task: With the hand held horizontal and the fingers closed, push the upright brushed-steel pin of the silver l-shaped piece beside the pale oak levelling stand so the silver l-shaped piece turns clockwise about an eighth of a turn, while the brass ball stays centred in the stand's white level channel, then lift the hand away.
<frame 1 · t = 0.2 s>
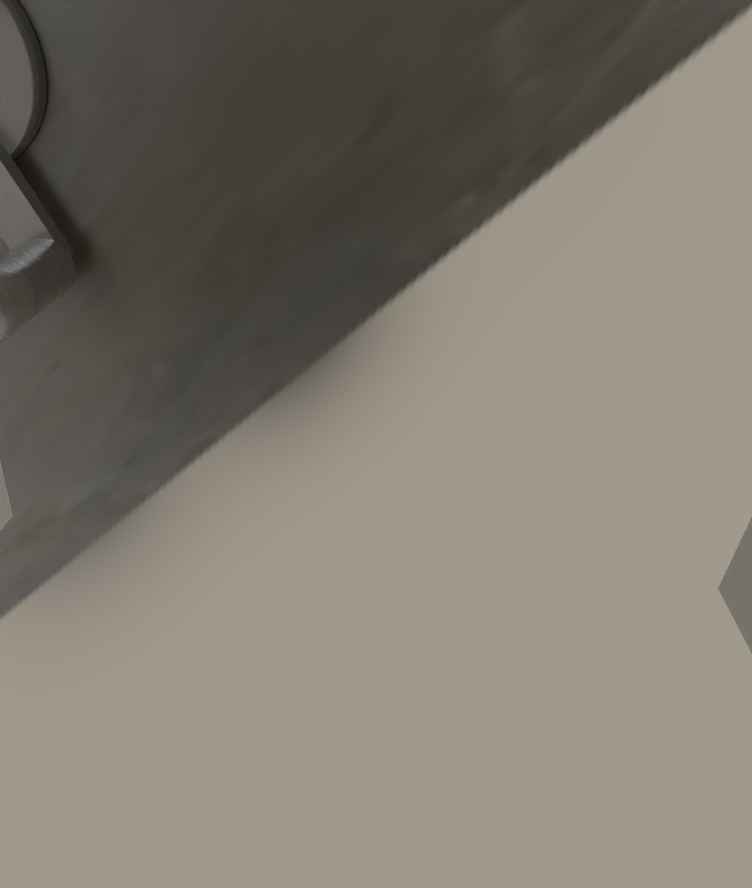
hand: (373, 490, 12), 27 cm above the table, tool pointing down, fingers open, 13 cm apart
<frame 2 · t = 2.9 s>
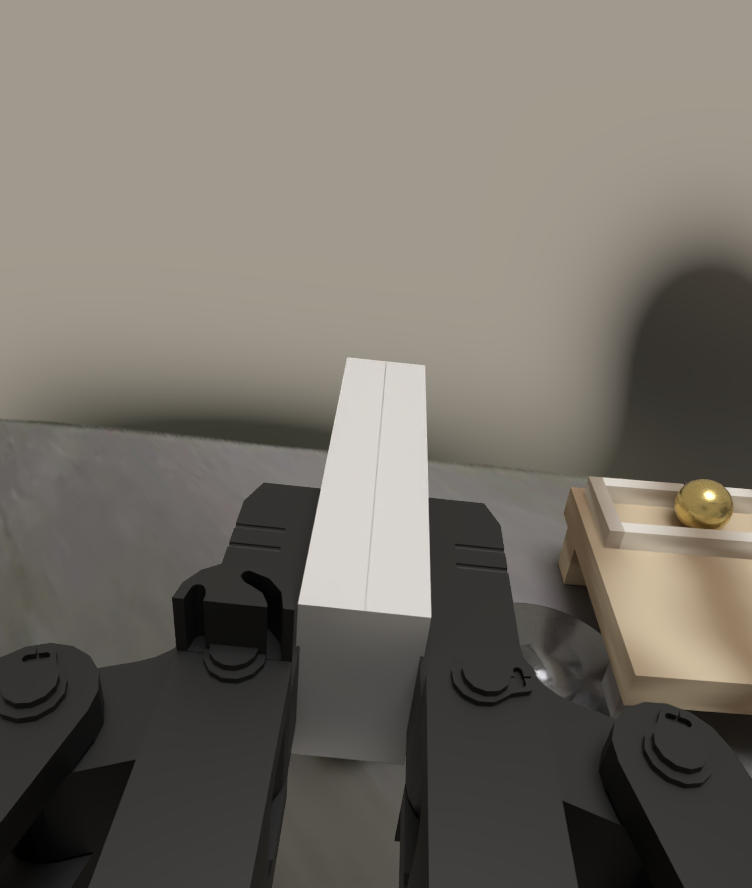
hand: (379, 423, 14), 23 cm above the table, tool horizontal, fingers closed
stand: (686, 654, 40), on the table
ball: (703, 506, 39), point 7 cm above the table, touching stand
silver l-shaped piece: (498, 605, 31), point 8 cm above the table, hinge at 20.0°
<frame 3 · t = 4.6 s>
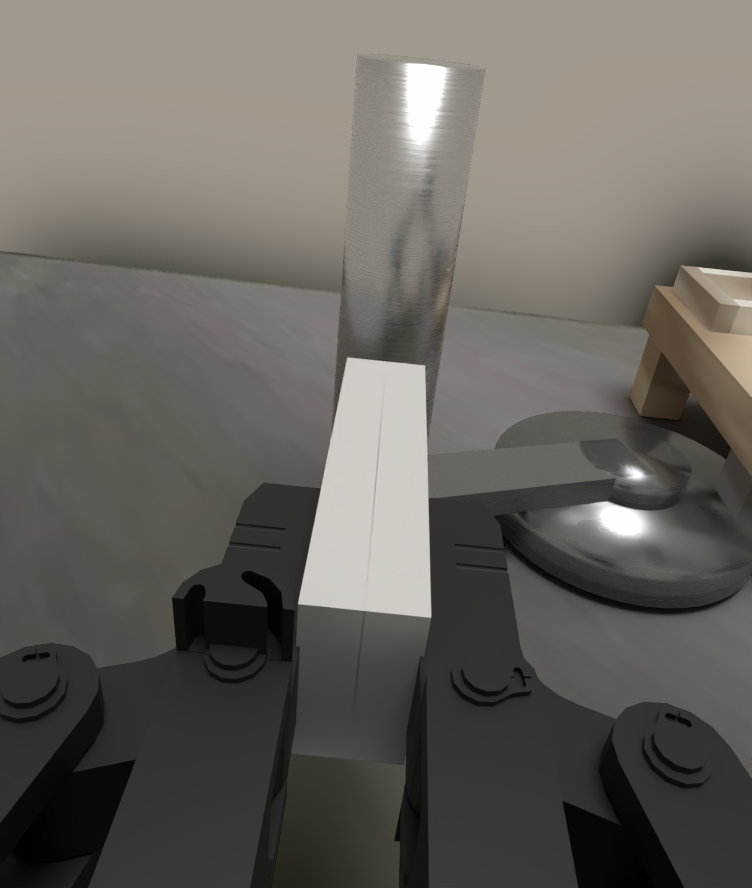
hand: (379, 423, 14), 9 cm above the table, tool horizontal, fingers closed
silver l-shaped piece: (590, 341, 22), point 8 cm above the table, hinge at 20.0°
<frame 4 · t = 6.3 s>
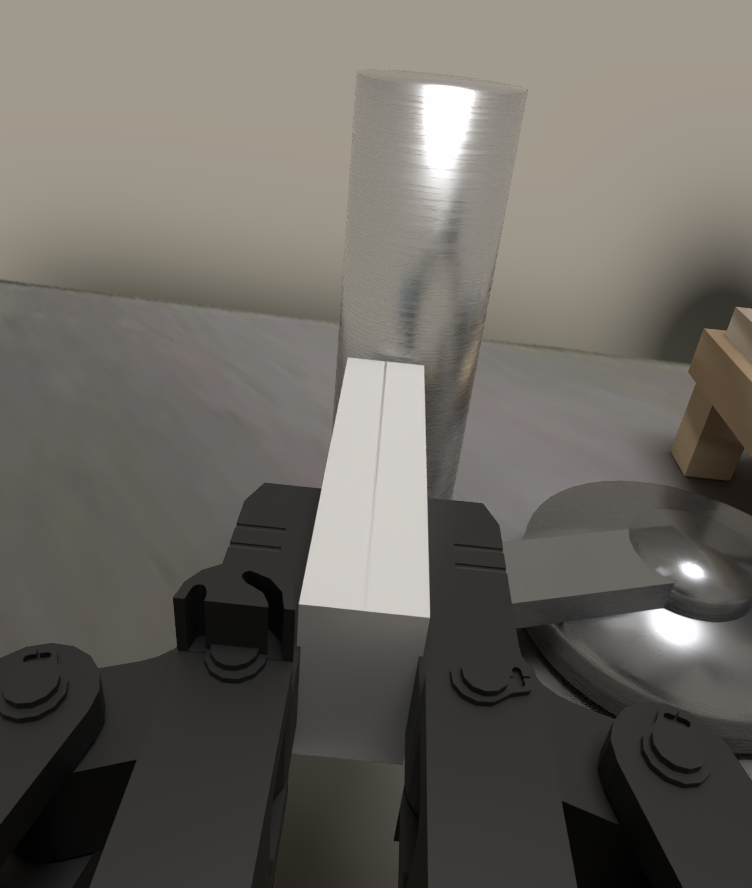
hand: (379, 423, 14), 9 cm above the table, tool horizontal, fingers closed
silver l-shaped piece: (649, 422, 18), point 8 cm above the table, hinge at 17.8°, touching gripper
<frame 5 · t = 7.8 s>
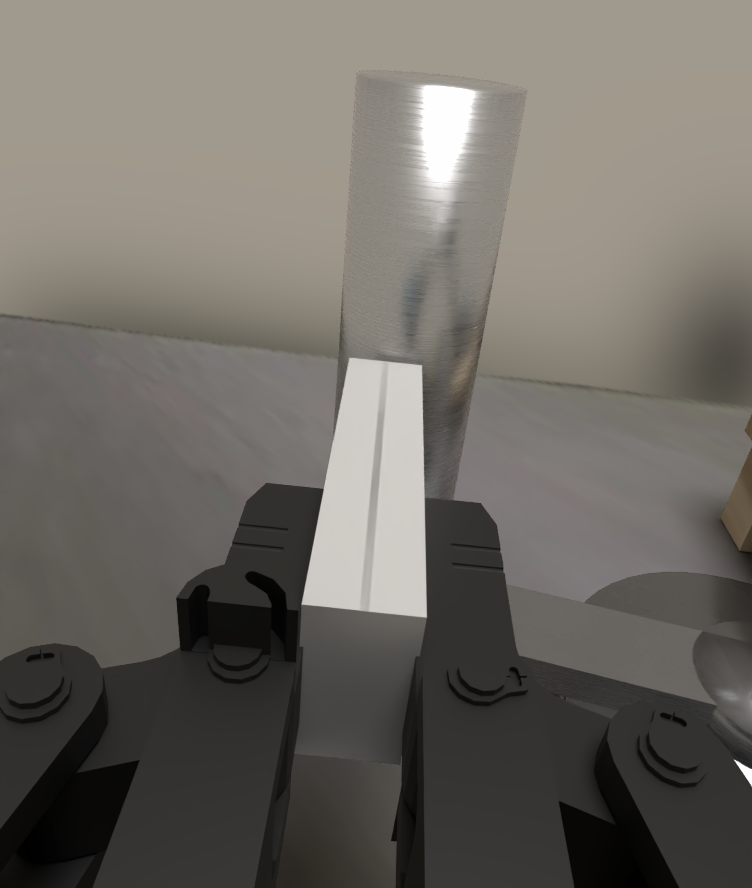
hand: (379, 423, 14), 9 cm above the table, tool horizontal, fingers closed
silver l-shaped piece: (702, 500, 15), point 8 cm above the table, hinge at -10.5°, touching gripper
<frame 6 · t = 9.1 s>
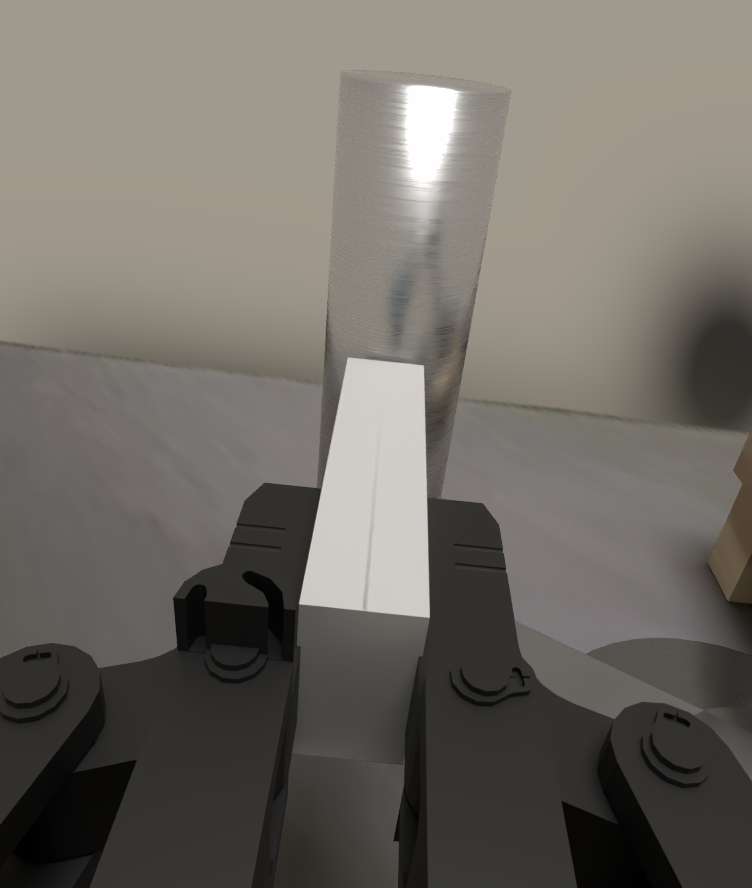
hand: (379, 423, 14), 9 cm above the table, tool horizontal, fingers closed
silver l-shaped piece: (685, 555, 13), point 8 cm above the table, hinge at -28.2°, touching gripper
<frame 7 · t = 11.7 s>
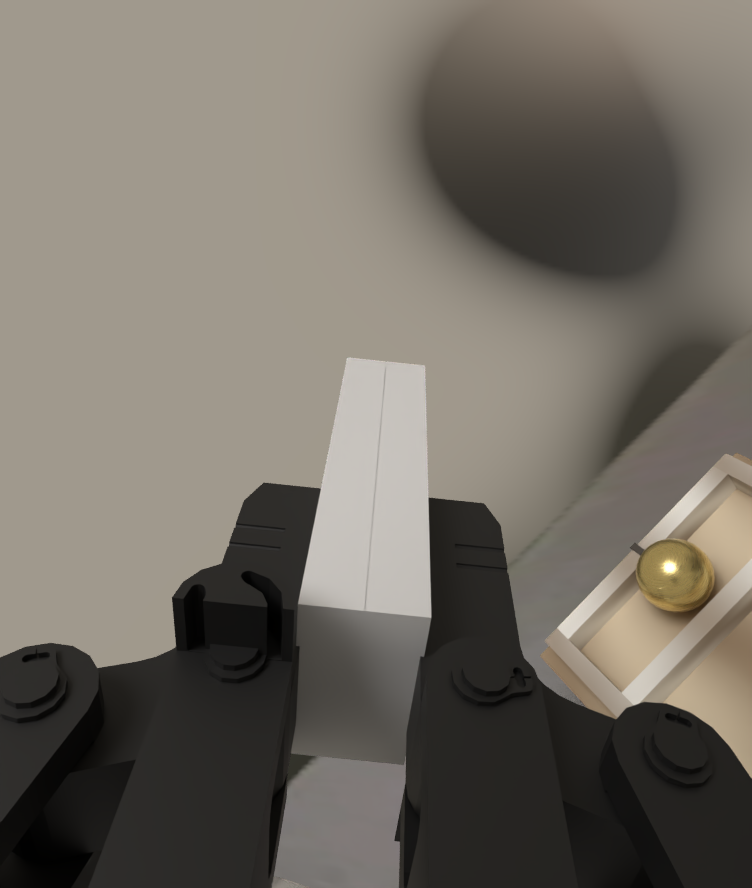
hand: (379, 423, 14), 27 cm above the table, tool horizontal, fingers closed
ball: (674, 575, 29), point 7 cm above the table, touching stand
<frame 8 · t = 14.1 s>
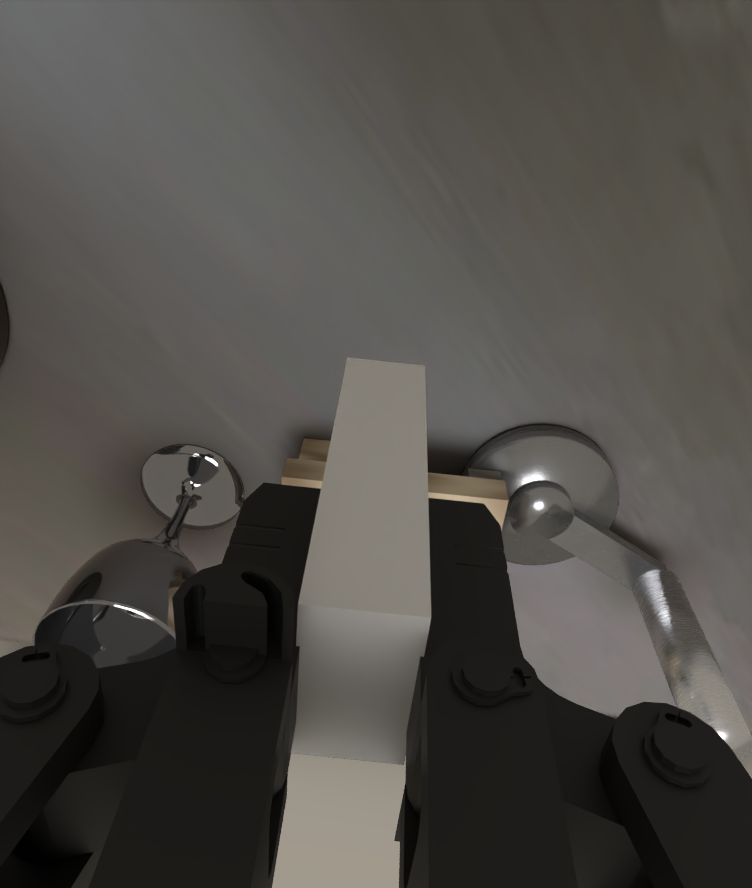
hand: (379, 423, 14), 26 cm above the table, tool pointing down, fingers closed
stand: (386, 520, 49), on the table
wine glass: (193, 486, 48), on the table
silver l-shaped piece: (596, 590, 41), point 8 cm above the table, hinge at -28.9°
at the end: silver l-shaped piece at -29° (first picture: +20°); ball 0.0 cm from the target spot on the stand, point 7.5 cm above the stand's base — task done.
